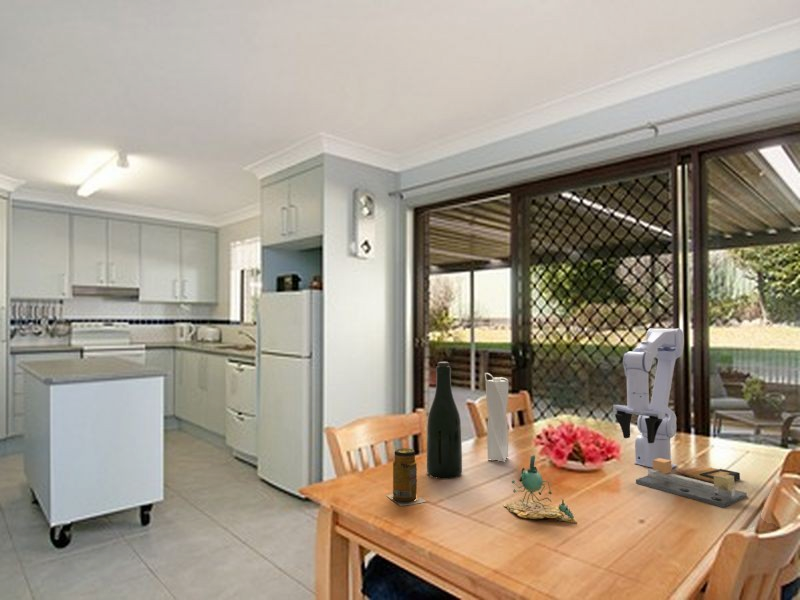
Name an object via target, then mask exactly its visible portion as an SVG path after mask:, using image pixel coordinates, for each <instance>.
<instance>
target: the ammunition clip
mask: <svg viewBox="0 0 800 600" xmlns="http://www.w3.org/2000/svg"><path fill="white" fill-rule="evenodd" d="M677 473H679V474H681V475H682V476H685V477H686V476H687V477H688V478H692V479H696V480H700V481H704V482H708V483H712V484H714V475H716V474H719V473H723V474H727V475H732V476H734V482H736V481H740V480H741V474H740V472H737V471H733V470H728V469H723V468H715V467H710V466H709V467H707V466H701V465H700V466H692V467H689V468H685V469H679V470H677Z"/></svg>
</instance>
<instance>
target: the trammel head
mask: <svg viewBox="0 0 800 600" xmlns="http://www.w3.org/2000/svg"><path fill="white" fill-rule="evenodd" d="M671 463H672V459H671V460H666V459H662V458H658V459H655V460H653V468H652V469H653V471H652V472H651V473H652V478H653V479H656V474H657V473H663V474H666V473H673V472H672V470H673V469H672V468H671Z"/></svg>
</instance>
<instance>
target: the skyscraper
mask: <svg viewBox="0 0 800 600" xmlns="http://www.w3.org/2000/svg"><path fill="white" fill-rule="evenodd" d="M487 375H488V376H490V377H491V379H487ZM484 379H485V396H486V397H485V398H486V407H487V408H486V409H487V413H488V414H487V415H488V416H487V433H486V434H487V438H486V440H487V441H486V443H487V460H488V459H491V460H498V461H497V462H499V461H505V460H506V461H507V459H508V458H509V430H508V429H509V428H508V420H507V410H508V401H509V379H508V378H506V377H502V376H501V377H494V376H493V375H492V374H491V373H489V372H484ZM507 457H508V458H507ZM506 458H507V459H506ZM506 461H505V462H506Z"/></svg>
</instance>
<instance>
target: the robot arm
mask: <svg viewBox="0 0 800 600" xmlns="http://www.w3.org/2000/svg"><path fill="white" fill-rule="evenodd" d="M645 336H646V337H645V338H646V339H645V340H642V341H641V342H640V343H638V345H636V347H635V348H634V349H632V351H627V352H625V353H624V354H623V357H622V367H623V369H624V370H623V371H624V377H626V405H625V404H624V405H623V404H613V405H612V408H613V409H612V411H613V412H615V414H614V417H615V418H616V420H617V421H618V424H619V426H620V429H621V432H622V436H623V438H624V439H629V438H631V422H632V421H631V420H632V415H636V416H638V417H637V422H636V423H637V425H636V426H637V430H638V431H639V434H638V435H637V436H636V438H635V443H634V448H635V452H634V453H635V455H634V456H635V457H634V458H635V461H634V462H633V463H634V464H636V465H640V466H643V467H648V468H650V469H653V460H655V459H658V458H662V459H666V460H671V461H672V457H671V456H672V455H671V439H673V438H674V437H675V435H676V433H677V416H676V413H675V412H674V411H673V410H672V409H671V408H670V407H669V401H670V395H671V388H672V381H673V376H674V369H675V365H676V361H677V359H678V358H680V357H682V354H683V351H684V344H685V338H684V337H685V336H684V332H683V330H682V329H681V328H679V327H678V328H653V327H651V328H649V329H648V330H647V331H646V335H645ZM655 358H657V366H656V371H655V377H654V383H653V389H652V395H651V399H650V397H649V396H650V391H649V390H650V389H649V387H650V386H649V385H650V383H649V372H651V369H652V365H653V360H654V359H655ZM677 466H678V464H675V463H672V462H671V469H673V468H676V467H677Z"/></svg>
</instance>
